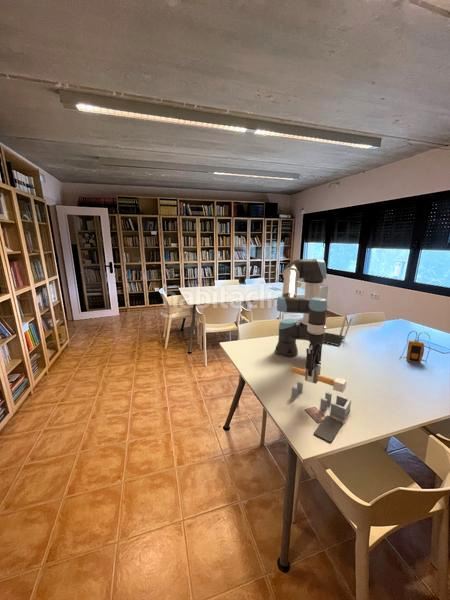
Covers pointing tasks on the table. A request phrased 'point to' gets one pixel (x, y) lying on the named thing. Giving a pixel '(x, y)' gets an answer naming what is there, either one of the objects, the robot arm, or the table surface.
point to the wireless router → (337, 338)
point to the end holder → (341, 407)
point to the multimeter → (415, 350)
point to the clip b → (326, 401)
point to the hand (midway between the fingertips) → (312, 379)
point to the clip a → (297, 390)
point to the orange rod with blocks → (322, 378)
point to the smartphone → (328, 429)
